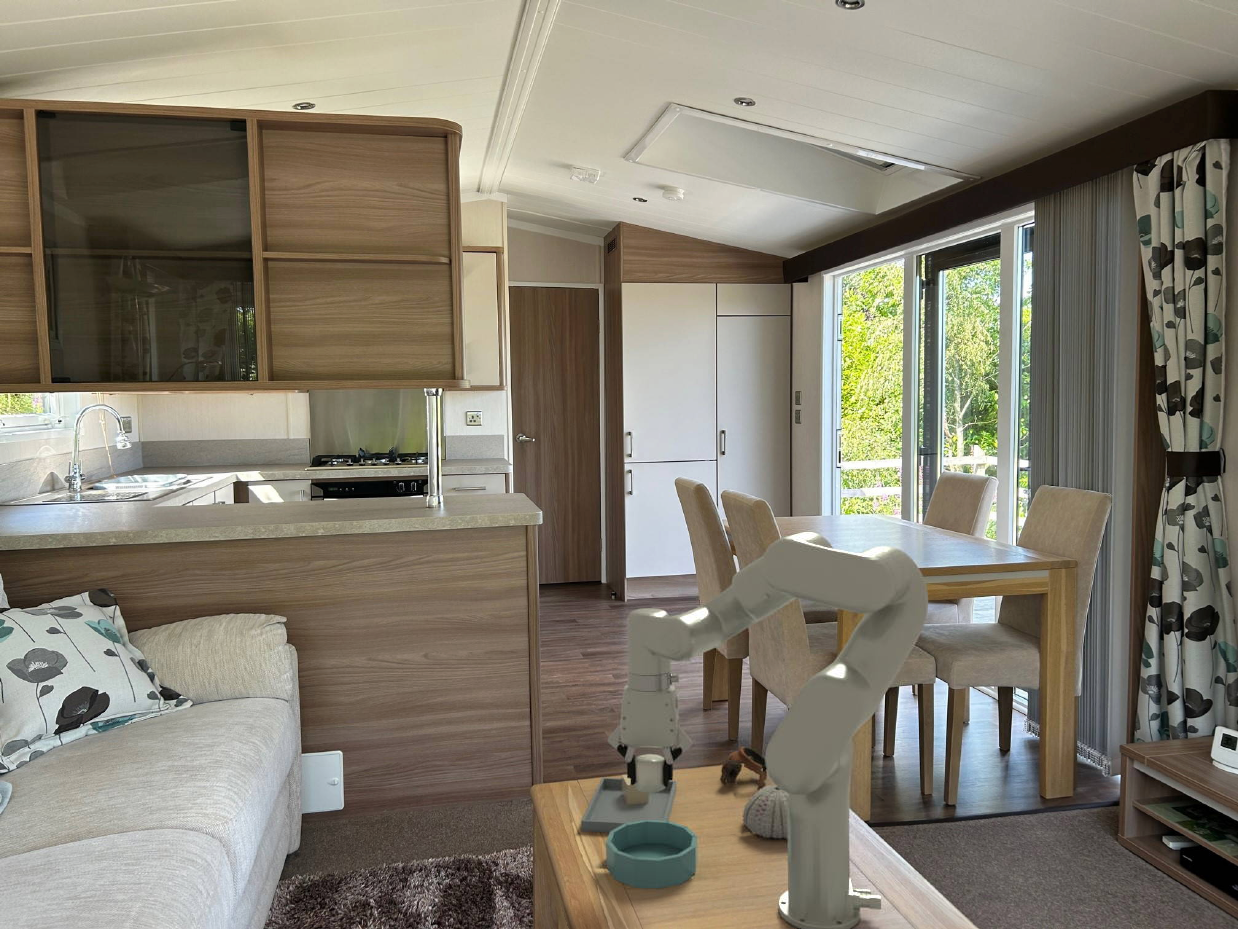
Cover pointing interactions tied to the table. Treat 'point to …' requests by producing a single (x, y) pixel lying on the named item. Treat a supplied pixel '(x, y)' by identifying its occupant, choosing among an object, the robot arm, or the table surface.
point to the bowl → (651, 854)
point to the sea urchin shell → (767, 812)
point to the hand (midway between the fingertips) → (650, 782)
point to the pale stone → (649, 773)
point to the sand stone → (633, 792)
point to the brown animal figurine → (741, 756)
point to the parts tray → (624, 807)
